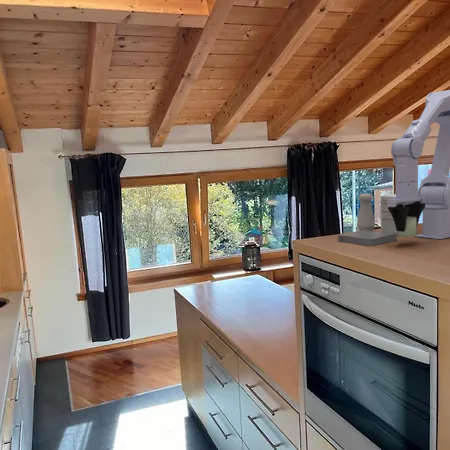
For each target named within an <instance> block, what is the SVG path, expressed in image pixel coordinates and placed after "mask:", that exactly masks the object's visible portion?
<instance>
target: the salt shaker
mask: <svg viewBox="0 0 450 450" xmlns="http://www.w3.org/2000/svg"><path fill="white" fill-rule="evenodd" d="M372 200H373V195H372V194H371V193H361V194H359V195H358V201H359V202H360V206H359V210H358V211H359V212H358V216H357V221H356V227H357V229H358V231H361V230H369V231H374V229H375V225H376V224H375V219H374V213H373V208H372V203H371V201H372Z"/></svg>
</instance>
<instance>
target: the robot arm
mask: <svg viewBox="0 0 450 450" xmlns="http://www.w3.org/2000/svg"><path fill="white" fill-rule="evenodd" d="M424 100H425V101H424V102H425V103H424V104H425V107H424V109H423V111H422V113H421V114H420V116H419V118H418V119H415V120H412V121H411V123H410V125H409V126H408V128H407V129H406V131H405V132H404V134H402V136H401V138H397V139H396V140H394V141H393V143H392V145H391V148H390V154H391V156H392V159H393V160H392V161H393V166H395V194H396V197H393V199H389V200H387V207H388V210H389V211H390V213H391V215H392V217H393V219H394V222H395V226H396V230H397V231H401V232H404V231H405V227H406V218H407V216H412V217H416V230H418V229H417V228H418V226H419V222H420V217H421V216H422V233H420V234H416V237H420V238H427V239H434V240H443V239H447V238H450V89H448V90H442V91H436V92H433V91H431V92H429V93H428V94H427V95H426V98H425V99H424ZM433 123H436V124H437V125H439V128H438V129H439V130H438V134H437V140H436V143H435V148H434V152H433V153H434V154H433V157H432V164H431V167H430V173H429V174H428V175H427V176H425V177H424V178H423V179H421V180H420V184H419V158H420V157H421V156H422V154H423V151H424V146H425V141H426V140H427V138H428V137H429V136H430V133H431V132H432V126H431V125H432V124H433ZM409 201H411V202H409ZM403 205H404V206H403ZM421 214H422V215H421Z"/></svg>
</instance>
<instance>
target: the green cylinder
mask: <svg viewBox="0 0 450 450" xmlns="http://www.w3.org/2000/svg"><path fill="white" fill-rule="evenodd" d="M397 235H398V236H397V237H404V238H405V237H406V238H407V237H415V236H416V235H417V229H416V217H412V216H407V218H406V227H405V231H404V232H401V231H397ZM416 237H417V236H416Z"/></svg>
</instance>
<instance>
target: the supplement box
mask: <svg viewBox="0 0 450 450" xmlns="http://www.w3.org/2000/svg"><path fill="white" fill-rule="evenodd" d="M393 197H396V193H392V194H386V195H381V196H380V232H386V233H394V234H397V230H396V226H395V222H394V219H393V217H392V215H391V213H390V211H389V210H388V207H387V200H389V199H393ZM409 202H411V201H409ZM403 206H404V205H403ZM397 237H399V236H398V235H397Z"/></svg>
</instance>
